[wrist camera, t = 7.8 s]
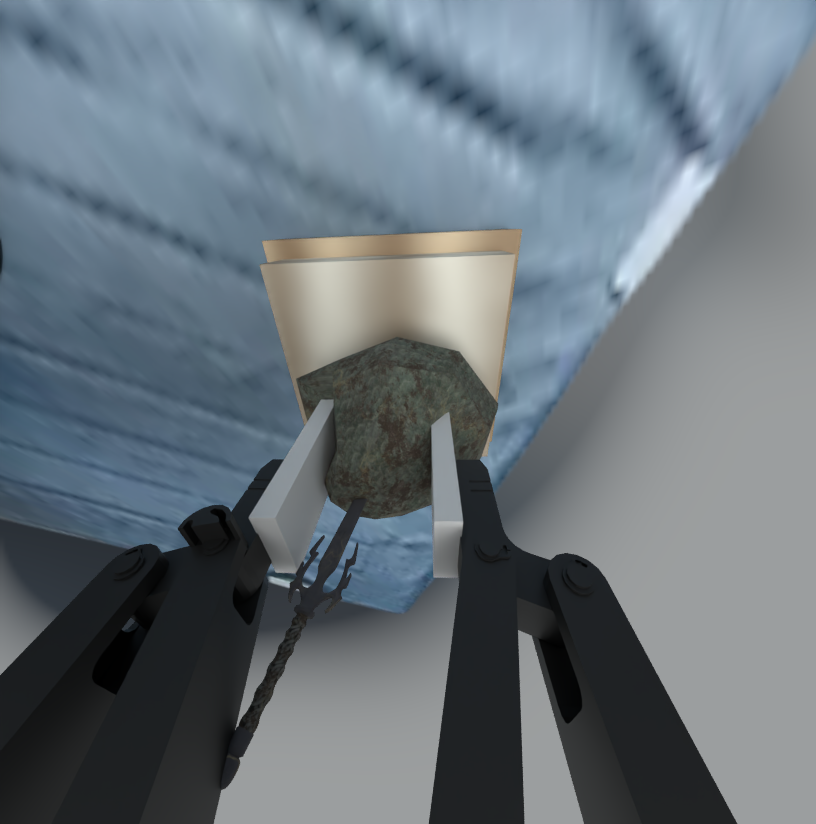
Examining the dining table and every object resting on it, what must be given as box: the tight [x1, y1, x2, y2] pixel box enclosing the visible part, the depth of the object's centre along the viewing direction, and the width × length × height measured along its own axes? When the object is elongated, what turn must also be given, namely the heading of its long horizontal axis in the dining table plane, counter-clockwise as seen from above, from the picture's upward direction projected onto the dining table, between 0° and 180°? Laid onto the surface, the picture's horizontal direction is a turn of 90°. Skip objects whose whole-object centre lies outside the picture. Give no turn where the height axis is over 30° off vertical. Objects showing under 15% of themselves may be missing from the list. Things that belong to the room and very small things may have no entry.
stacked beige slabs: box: [260, 229, 522, 456], centre depth 21 cm, size 15×15×6 cm
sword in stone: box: [221, 337, 498, 790], centre depth 10 cm, size 10×8×12 cm
